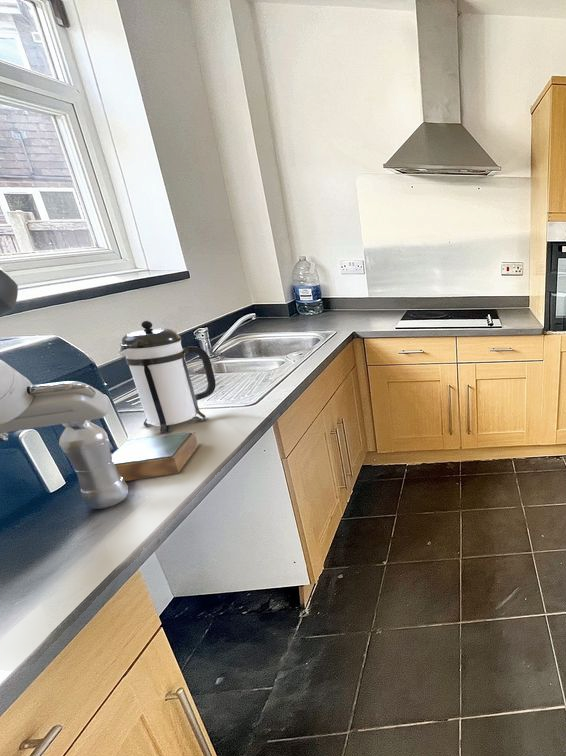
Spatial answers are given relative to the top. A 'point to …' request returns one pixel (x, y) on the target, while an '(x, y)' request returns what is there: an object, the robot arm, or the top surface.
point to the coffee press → (164, 375)
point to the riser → (154, 455)
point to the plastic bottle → (93, 465)
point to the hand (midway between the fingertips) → (43, 431)
